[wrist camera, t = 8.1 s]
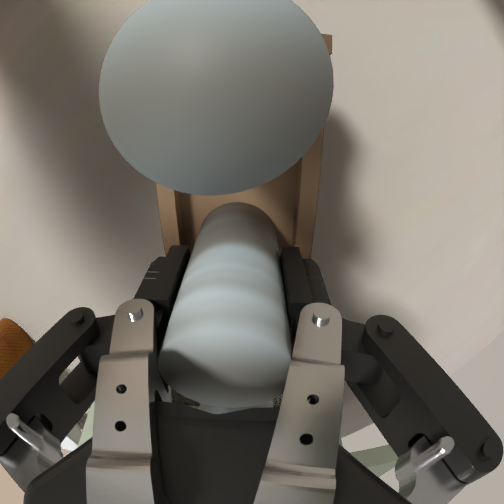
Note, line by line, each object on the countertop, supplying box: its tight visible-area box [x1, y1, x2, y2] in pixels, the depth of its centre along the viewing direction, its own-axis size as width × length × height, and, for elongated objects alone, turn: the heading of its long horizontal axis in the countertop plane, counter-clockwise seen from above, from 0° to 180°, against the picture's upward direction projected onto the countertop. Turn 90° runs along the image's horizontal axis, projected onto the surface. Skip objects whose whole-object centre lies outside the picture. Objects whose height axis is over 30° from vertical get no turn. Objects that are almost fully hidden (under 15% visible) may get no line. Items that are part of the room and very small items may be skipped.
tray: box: [99, 0, 333, 414], centre depth 11 cm, size 19×7×9 cm, turn 179°
